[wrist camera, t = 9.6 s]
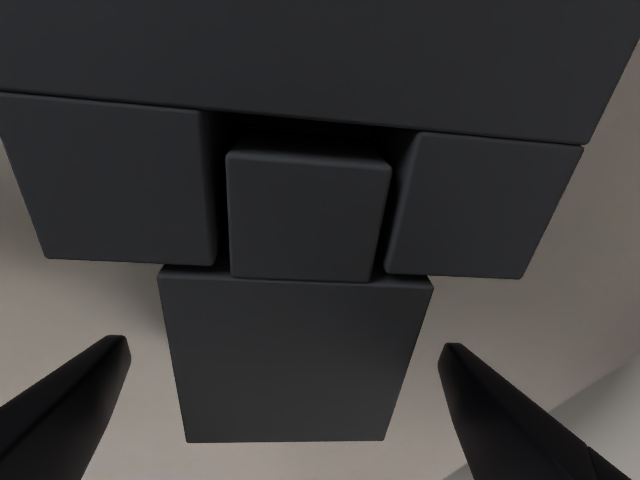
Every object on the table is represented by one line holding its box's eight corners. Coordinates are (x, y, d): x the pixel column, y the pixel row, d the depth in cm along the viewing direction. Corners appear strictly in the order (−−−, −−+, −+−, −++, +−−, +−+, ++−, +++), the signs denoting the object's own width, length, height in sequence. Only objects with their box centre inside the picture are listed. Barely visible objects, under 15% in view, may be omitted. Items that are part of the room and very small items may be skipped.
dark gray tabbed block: (418, 141, 8) (473, 173, 6) (365, 363, 12) (384, 441, 10) (187, 120, 8) (131, 146, 5) (210, 360, 12) (185, 444, 9)
